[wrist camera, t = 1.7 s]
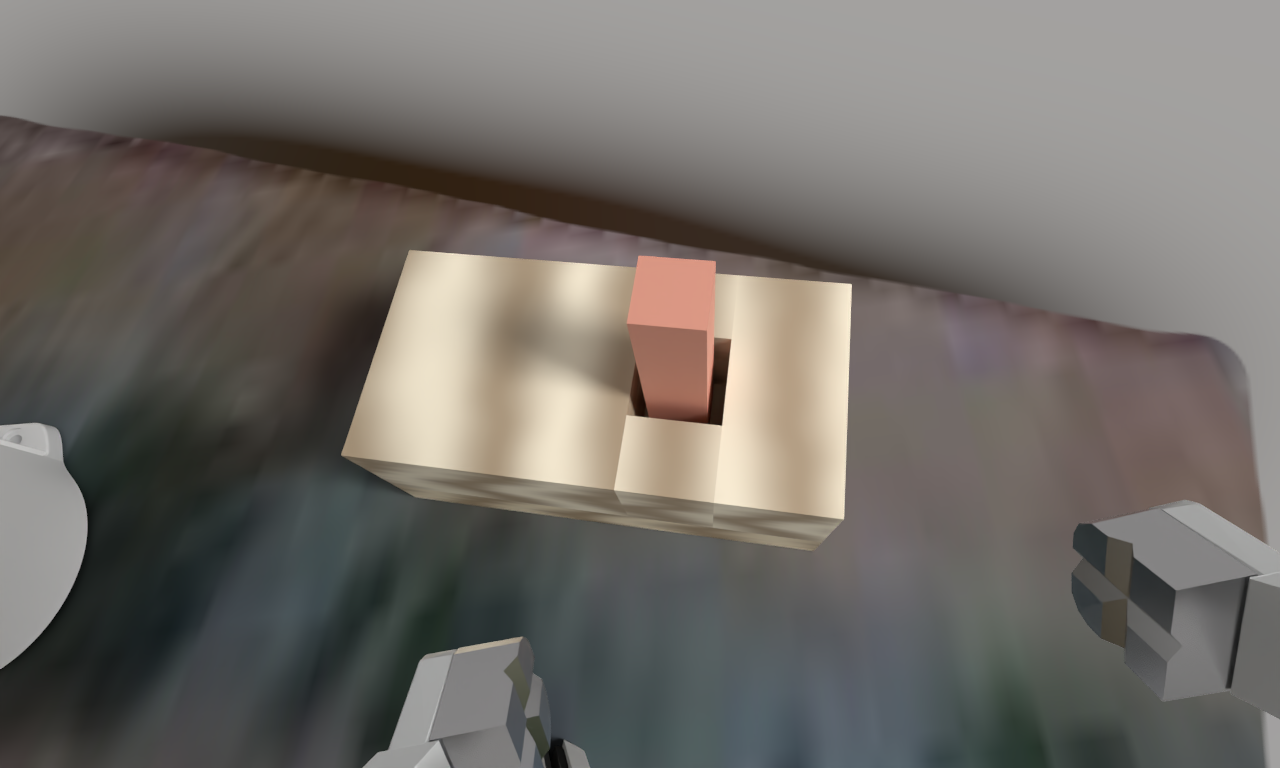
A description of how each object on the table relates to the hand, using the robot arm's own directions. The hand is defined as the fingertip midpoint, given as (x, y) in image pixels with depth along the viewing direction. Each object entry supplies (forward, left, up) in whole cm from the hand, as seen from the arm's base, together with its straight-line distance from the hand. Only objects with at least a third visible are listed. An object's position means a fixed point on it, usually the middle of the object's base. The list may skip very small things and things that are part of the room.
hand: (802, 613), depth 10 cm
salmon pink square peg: (-4, +12, -25) cm, 28 cm away
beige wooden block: (-8, +12, -28) cm, 31 cm away
